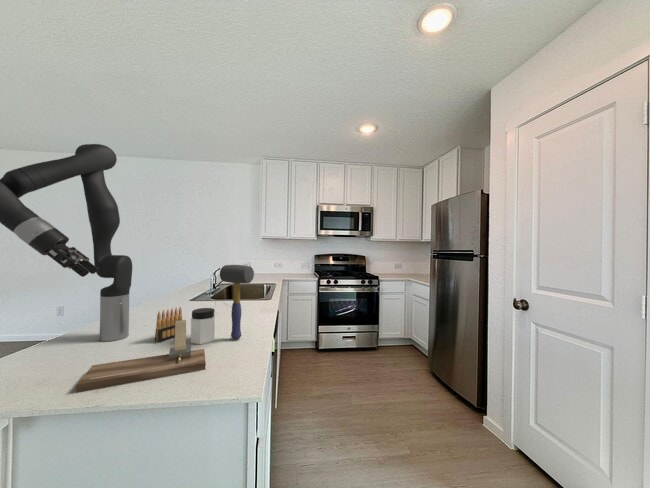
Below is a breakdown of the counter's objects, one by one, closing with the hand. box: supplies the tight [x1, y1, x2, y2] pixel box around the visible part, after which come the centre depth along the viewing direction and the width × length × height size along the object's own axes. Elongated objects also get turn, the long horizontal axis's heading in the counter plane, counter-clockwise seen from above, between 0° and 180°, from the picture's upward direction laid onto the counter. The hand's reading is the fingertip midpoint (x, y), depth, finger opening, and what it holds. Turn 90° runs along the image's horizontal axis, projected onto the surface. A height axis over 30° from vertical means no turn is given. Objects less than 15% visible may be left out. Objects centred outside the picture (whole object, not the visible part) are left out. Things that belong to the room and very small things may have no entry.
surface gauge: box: [168, 319, 192, 361], centre depth 84 cm, size 10×6×11 cm, turn 26°
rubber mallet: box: [219, 264, 255, 341], centre depth 106 cm, size 12×8×30 cm, turn 70°
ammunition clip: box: [154, 306, 183, 344], centre depth 107 cm, size 11×2×12 cm, turn 153°
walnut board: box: [75, 348, 207, 393], centre depth 79 cm, size 12×30×2 cm, turn 116°
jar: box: [190, 307, 216, 345], centre depth 105 cm, size 9×8×12 cm
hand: (91, 273), depth 83 cm, fingers open, 8 cm apart
